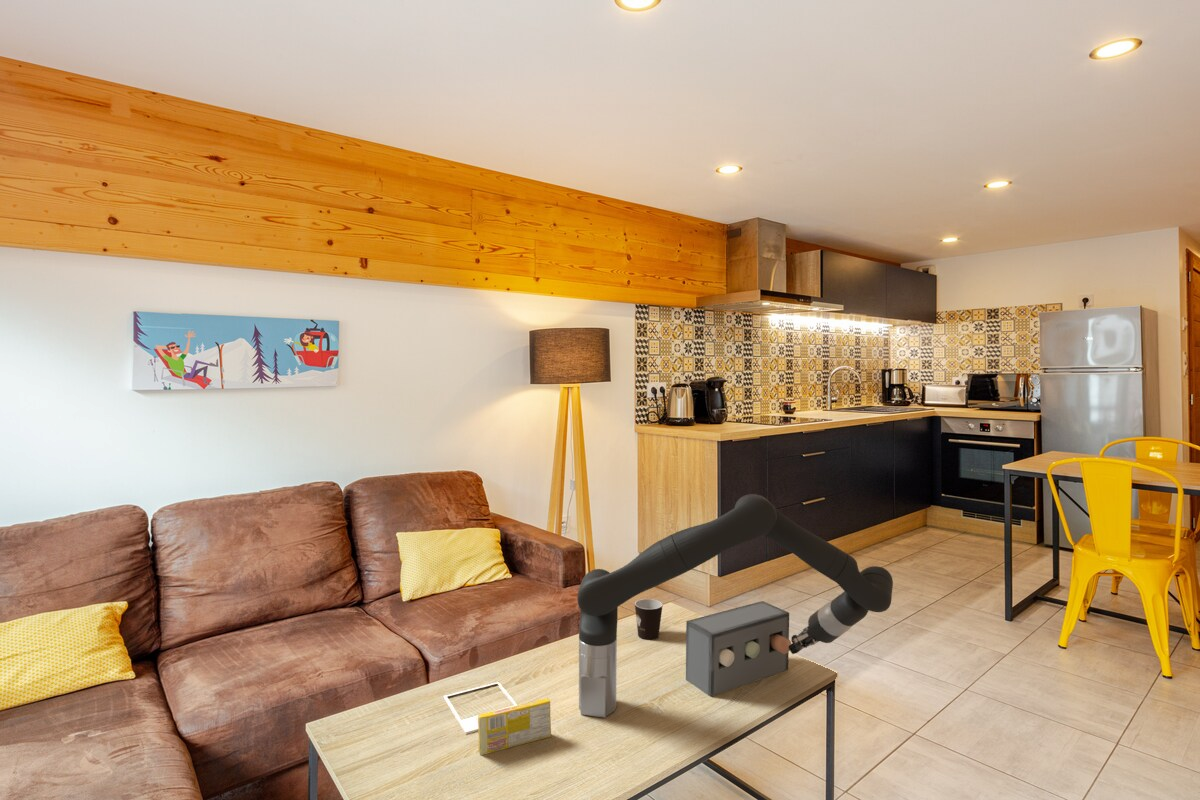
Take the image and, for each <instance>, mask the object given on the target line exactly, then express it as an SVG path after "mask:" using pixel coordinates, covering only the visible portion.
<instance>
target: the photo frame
mask: <svg viewBox="0 0 1200 800" xmlns="http://www.w3.org/2000/svg"><path fill="white" fill-rule="evenodd" d="M495 685H498V688H499V689H500V691H501V692H502V693H503V695H504V696H505V697H506V699H508V701H509V702H510V703H511V705H510V706H506V707H503V708H499V709H496V710H494V711H497V710H501V709H505V708H509V707H513V706H517V705H518V704H517V703H516V701H515V700H514V699H513V697H512V696H511V695H510V693H508V691H507V689H505V687H503V685H502V684H501V683H500V682H499V681H497V682H496V681H495V682H492V683H489V684H488V683H487V684H485V685H481V686H478V687H473V688H469V689H465V690H461V691H457V692H454V693H451V694H445V695H443V699H444V701H445V703H446V704H447V706H448V708H449V709H450V711H451V712H452V714H453V716H454V717H455V719H456V721H457V722H458V724H459V725H460V727H461V729H462V731H463V732H464V734H465V735H469V734H471V733H475V732H478V715H479V714H478V715H475V716H471V717H467V718H463V719H461V717H460V715H459V714H458V712H457V710H456V709H455V707H454V706H453V704H452V702H451V701H450V699H449V697H451V696H452V697H453V696H456V695H461V694H464V693H467V692H471V691H475V690H479V689H483V688H486V687H490V686H495Z"/></svg>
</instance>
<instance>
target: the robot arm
mask: <svg viewBox="0 0 1200 800" xmlns="http://www.w3.org/2000/svg"><path fill="white" fill-rule="evenodd" d="M761 537H765V538H767V539H770V540H772V541H773V542H775V543H777V544H778V545H781V546H782V547H784V548H785V549H786V550H788V551H789V552H790V553H792V554H793V555H795V556H796V557H797V558H799V559H800V560H801V561H803V562H804V563H805V564H807V565H808V566H809V567H811V568H812V569H814V570H815V571H816V572H818V573H820V574H822V575H823V576H825V577H827V578H828V579H830V580H831V581H832V582H835V583H836V584H837V585H839V587H840V588H841V589H842V590H843V592H841V593H840V594H838V596H836V597H835V598H834V599H832V600H830V601H829V602H827V603H825V604H824V605H823V606H821V607H820V608H819V609H817V610H816V611H815V612H813V613H812V614H811V615H810V616H809V617H808V619H807V622H808V625H807V626H805V627H804V628H803V630H802V631H801V632H800V633H798V635H797V634H793V635H792V636H791V640H790V641H791V645H790V646H789V650H790V651H789V652H790V654H791V655H795V654H798V653H799V652H800V651H802V650H803V649H806V648H809V647H810V646H814V645H816V644H817V643H818V642H821V643H824V644H831V643H832V642H834V641H835V640H836V639H838V638H840V637H841V636H842V635H844V634H845V633H847V632H848V631H849V630H850V629H852V627H853V626H854V625H856V624H857V623H859V622H860V621H861V620H863V619H864V618H865V617H866V616H867V615H868V612H872V613H873V612H874V613H883V612H886V611H887V610H889V608H890V606H891V605H892V599H893V597H892V596H893V587H894V586H893V585H894V582H893V581H894V580H893V576H892V575H891V572H890V571H889V570H887V569H886V568H884V567H883V566H877V565H875V566H874V565H872V566H869V567H866V568H864V569H862V570H861V571H860V570H859V567H858V561H857V560H856V559H855V558H854V557H853V556H851V555H850V554H848V553H847V552H845V551H843V550H842V549H840V548H838V547H837V546H835V545H834V544H832V543H830V542H829V541H827V540H825V539H823V538H821V537H819V536H817V535H816V534H814V533H812V532H811V531H808V530H807V529H805V528H804V527H802V526H800V525H798V524H797V523H795V522H794V521H792V520H791V519H789V518H788V517H786V515H784V514H783V513H782V512H780V511H779V510H778V509H777V508H776V507H774V505H773V503H771V502H770V501H769V500H768V499H767V498H766V497H764V496H763V495H760V494H756V493H749V494H746V495H742V496H741V497H740V498H739V499H738V500H737V501H736V502H735V505H734V507H733V508H732V509H731V510H729V511H727V512H726V513H724V514H723V515H720V516H719V517H717V518H715V519H713V520H711V521H708V522H705V523H701V524H698V525H694V526H690V527H687V528H685V529H681V530H679V531H676V532H674V533H672V534H670V535H668V536H666V537H664V538H662V539H659V540H657V542H654V543H653V544H652V545H650V546H648V547H647V548H646V549H645V550H643V551H642V552H641V553H639V554H638V556H636V557H635V558H634V559H632V560H631V561H629V563H627V564H626V565H624V566H622V567H620V568H618V569H616V570H614V571H612V572H609V571H608V570H606V569H602V568H596V569H595V568H594V569H592V570H590V571H588V572H587V573H585V575H584V577H583V578H582V580H581V582H580V585H579V588H578V590H577V591H578V592H577V598H576V599H577V605H578V607H579V609H580V617H579V625H578V708H579V710H580V715H583V716H584V715H585V716H590V717H596V718H597V717H598V718H607V716H608V715H610V714H613V713H614V712H615V711H616V709H617V659H618V658H617V656H618V655H617V653H618V652H617V651H618V650H617V647H618V646H617V645H618V641H617V640H618V639H617V638H618V633H617V632H618V619H619V617H618V616H619V615H618V613H619V612H618V609H619V608H618V607H620V606H622V605H623V604H624V603H626V602H628V601H629V600H631V599H633V598H634V597H636V596H638V595H640V594H642V593H644V592H646V591H648V590H651V589H653V588H656V587H658V586H659V585H662V584H663V583H666V582H667V581H670V580H672V579H675V578H677V577H679V576H681V575H683V574H686V573H687V572H690V571H691V570H693V569H695V568H697V567H698V566H701V565H702V564H704V563H706V562H707V561H710V560H711V559H713V558H715V557H716V556H719V555H720V554H722V553H723V552H725V551H727V550H729V549H731V548H733V547H736V546H738V545H741V544H744V543H747V542H750V541H752V540H755V539H757V538H761Z"/></svg>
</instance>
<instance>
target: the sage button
mask: <svg viewBox="0 0 1200 800" xmlns="http://www.w3.org/2000/svg"><path fill="white" fill-rule="evenodd" d="M759 651H760V646H759V644H757V643H756V642H754V641H752V640H750V641H747V642H745V655H747V656H749V657H751V658H755V657H757V656H758V654H759Z"/></svg>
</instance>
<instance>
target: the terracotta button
mask: <svg viewBox="0 0 1200 800" xmlns="http://www.w3.org/2000/svg"><path fill="white" fill-rule="evenodd" d="M769 643H770V644H771V647H772V648H773V649H775V650H777V651H779V652H781V653H782V654H787V653H788V652H791V651H790V650H789V646H790V645H791V644H792V641H791V640H790V638H789V639H787V638H785V637H783V636H780V635H778V634H776V635H772V634H770V638H769Z"/></svg>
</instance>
